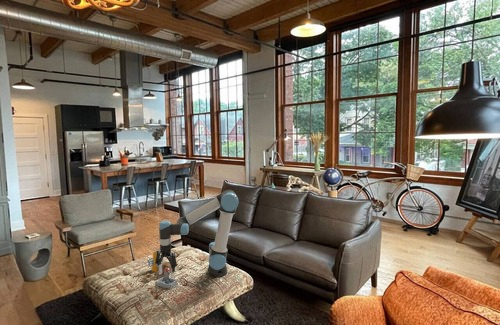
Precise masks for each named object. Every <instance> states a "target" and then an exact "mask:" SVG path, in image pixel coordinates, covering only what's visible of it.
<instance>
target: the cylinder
mask: <svg viewBox="0 0 500 325" xmlns="http://www.w3.org/2000/svg"><path fill="white" fill-rule="evenodd" d="M158 250H159V249H157V250H153V251H152V258H149V259H148V260H147V263H148V267H149V268H150V267H151V271H152V272H153V271H154V272H153V273H155V272H156V271H157V272H159V269H158V265H157V264H155V261H156V256H157V251H158ZM163 262H164V259H163V260H162V262H161V263H163ZM157 272H156V273H157Z"/></svg>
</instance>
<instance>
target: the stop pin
mask: <svg viewBox="0 0 500 325" xmlns="http://www.w3.org/2000/svg"><path fill="white" fill-rule="evenodd" d="M169 270H170V268H168V267H166V268H164V276H163V277H164V278H165V283H166V284H169V278H170V274H169Z"/></svg>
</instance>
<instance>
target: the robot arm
mask: <svg viewBox="0 0 500 325" xmlns="http://www.w3.org/2000/svg"><path fill="white" fill-rule="evenodd" d="M238 206H239V197H238V195H237V193H236V192H235V191H234V190H232V189H226V190H224V191H223V192H220V193H219V194H218V195H216V196H215V198H213V199H211V200H210V201H208V202H207V203H205V204H203V205H201V206H200V207H198V208H197V209H194V210H192V212H189V213H188V214H186V215H184V216H182V217H179V218H178V219H177V220H176V223H171V221H170V220H162V221H160V222H159V224H158V225H159V226H158V227H159V228H158V231H159V233H158V234H159V249H157V250H158V251H157V256H156V261H155V264H157V265H158V269H159V271H158V276H159V275H163V273H162V264H161V263H162V260H163V261H164V258H166V259H167V260H168V262H169V263H170V265H171V274H170V278H173V277H174V276H175V272H176V268H177V267H178V263H177V258H176V251H174V252H173V251H172V236H185V235H188V234H189V231H190V229H189V228H190V226H191V225H192V224H194V223H196V222H198V221H199V220H201V219H202V218H205V217H207V216H208V215H210V214H211V213H213V212H215V211H217V210H219V212H220V213H219V214H220V215H219V219H218V224H217V230H216V234H215V239H214V241H212V242H210V243H209V244H208V248H209V250H208V252H209V254H208V267H207V270H206V272H207V276H209V277H213V278H218V277H219V278H220V277H224V276H225V275H227V274H228V272H229V271H228V266H227V256H228V248H227V244H228V241H229V240H228V239H229V236H230V230H231V225H232V220H233V216H234V214H236V211H237V208H238Z"/></svg>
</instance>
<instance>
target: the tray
mask: <svg viewBox="0 0 500 325" xmlns="http://www.w3.org/2000/svg"><path fill="white" fill-rule="evenodd" d="M178 284H179V283H178V278H177V279H176V278H173V277H169V284H166V283H165V278H164V276H163V277H161V278H159V279H158V280H157V281H155V286H156V287H159V286H160V287H161V288H164V289H168V288H169V289H168V290H171V289H172V288H173V287H175V286H176V285H178Z"/></svg>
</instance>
